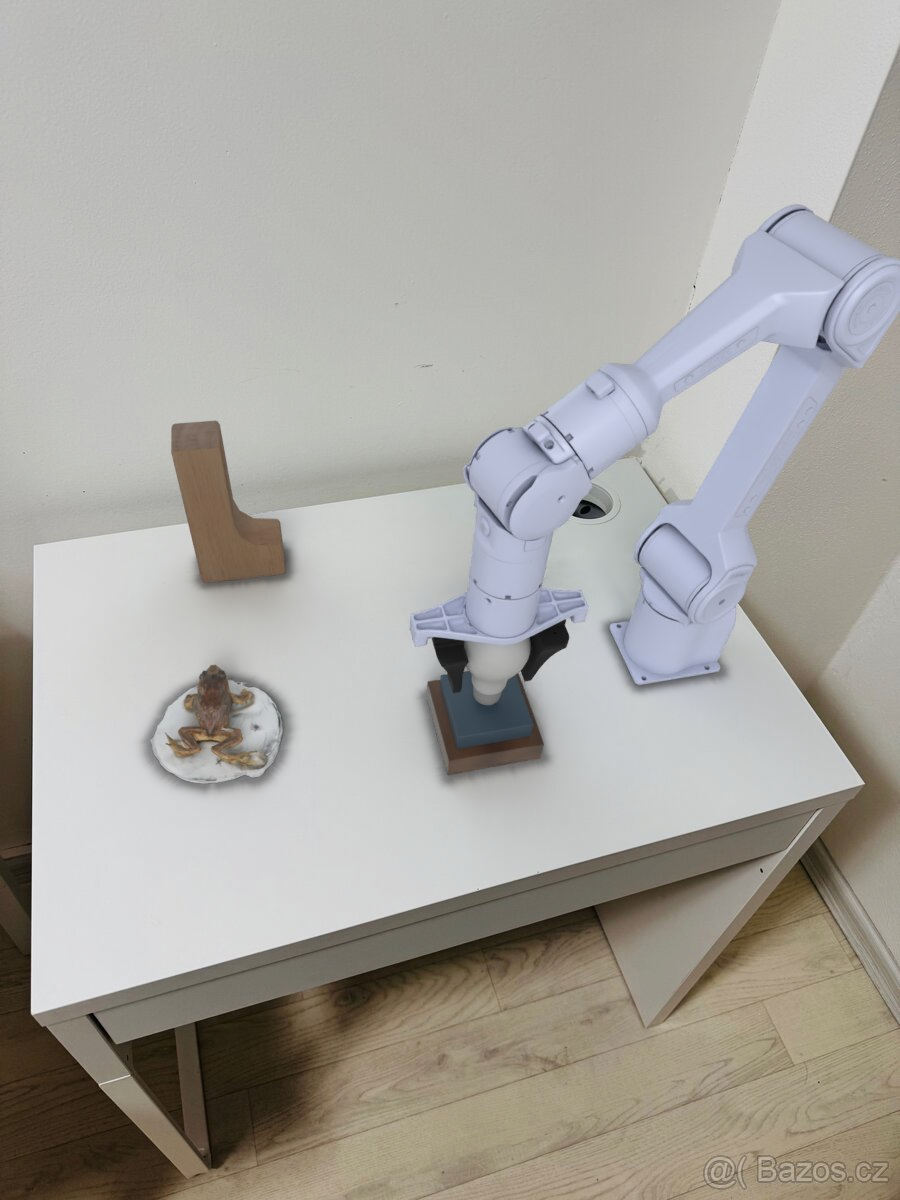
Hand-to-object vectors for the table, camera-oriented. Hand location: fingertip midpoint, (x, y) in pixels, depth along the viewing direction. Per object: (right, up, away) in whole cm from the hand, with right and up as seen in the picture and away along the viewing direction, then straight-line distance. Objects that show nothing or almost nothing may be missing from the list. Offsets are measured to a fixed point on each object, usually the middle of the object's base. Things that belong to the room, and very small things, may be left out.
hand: (489, 677), depth 74 cm
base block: (-1, -5, +6) cm, 8 cm away
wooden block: (-26, +11, +18) cm, 34 cm away
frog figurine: (-25, -5, +4) cm, 26 cm away
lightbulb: (0, -2, +3) cm, 4 cm away
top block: (0, -4, +4) cm, 5 cm away
